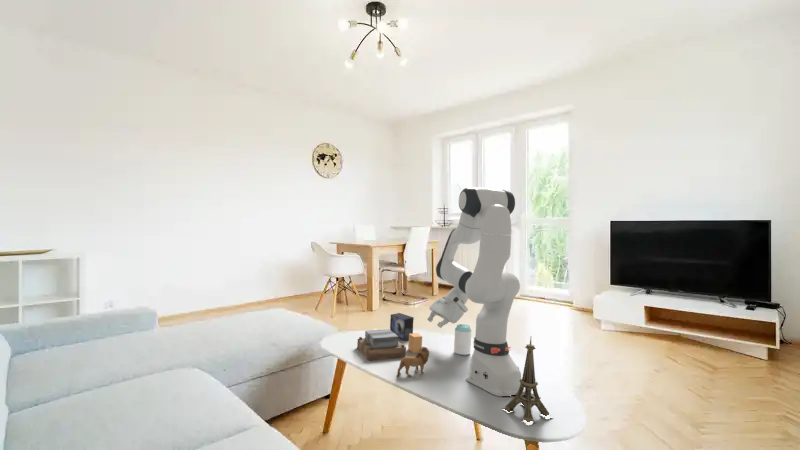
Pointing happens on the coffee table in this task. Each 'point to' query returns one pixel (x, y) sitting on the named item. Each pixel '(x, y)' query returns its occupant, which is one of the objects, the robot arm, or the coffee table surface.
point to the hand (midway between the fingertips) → (433, 323)
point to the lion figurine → (414, 361)
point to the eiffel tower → (528, 389)
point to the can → (462, 339)
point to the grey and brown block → (381, 345)
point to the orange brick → (414, 342)
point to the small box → (401, 325)
